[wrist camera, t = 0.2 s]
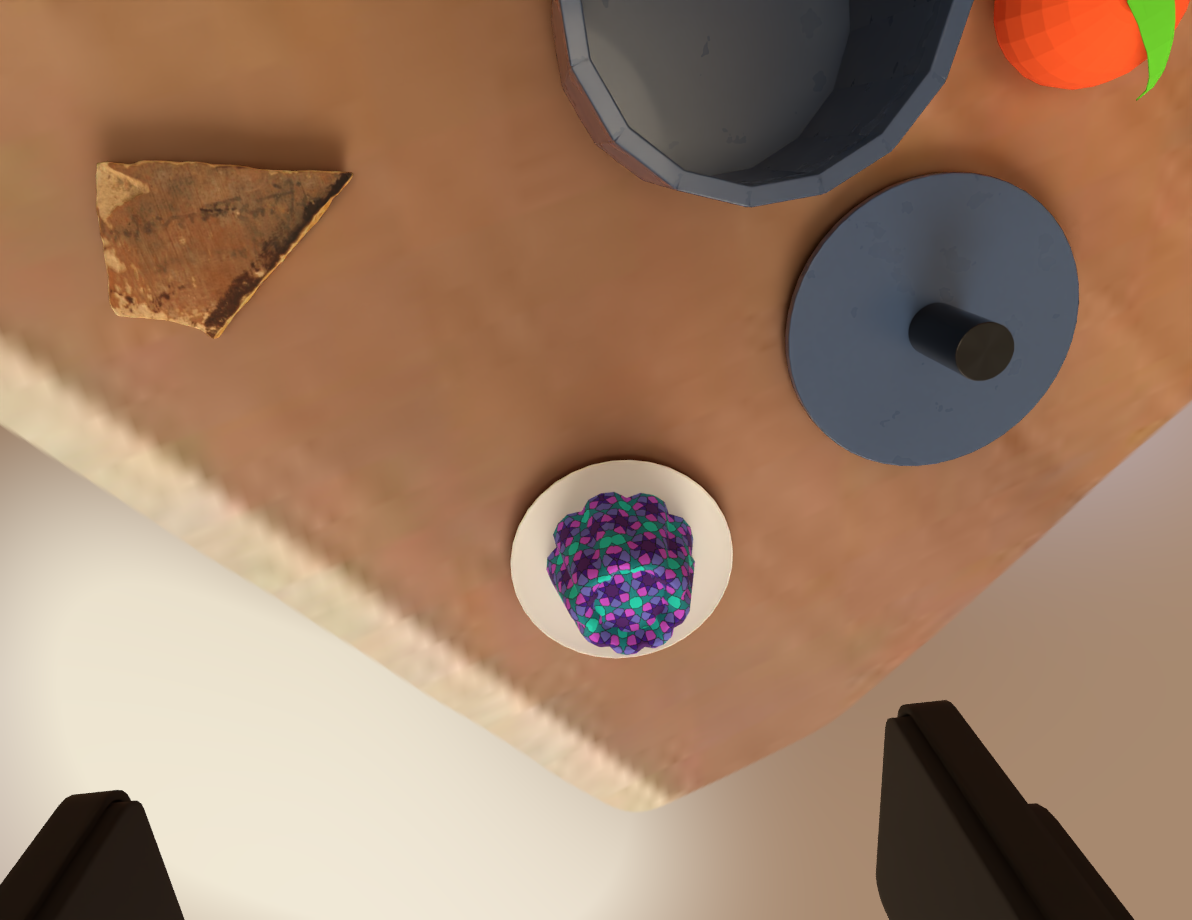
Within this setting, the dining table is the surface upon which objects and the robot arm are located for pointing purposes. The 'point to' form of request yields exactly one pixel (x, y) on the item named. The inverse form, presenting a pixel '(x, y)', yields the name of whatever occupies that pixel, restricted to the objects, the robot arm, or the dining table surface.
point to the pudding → (621, 559)
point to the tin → (753, 86)
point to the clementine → (1086, 38)
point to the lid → (932, 318)
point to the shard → (201, 234)
